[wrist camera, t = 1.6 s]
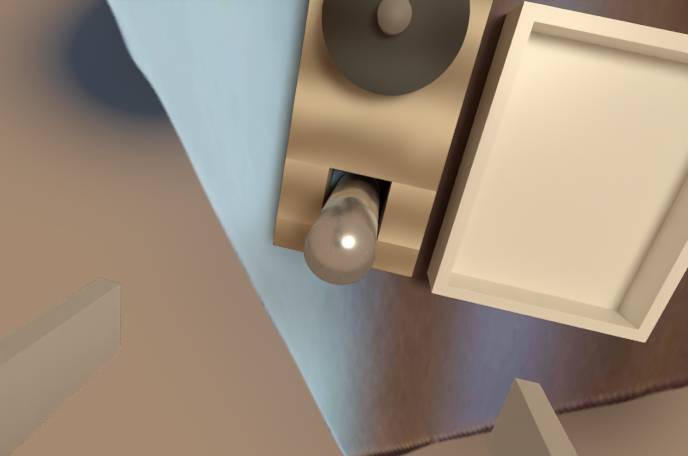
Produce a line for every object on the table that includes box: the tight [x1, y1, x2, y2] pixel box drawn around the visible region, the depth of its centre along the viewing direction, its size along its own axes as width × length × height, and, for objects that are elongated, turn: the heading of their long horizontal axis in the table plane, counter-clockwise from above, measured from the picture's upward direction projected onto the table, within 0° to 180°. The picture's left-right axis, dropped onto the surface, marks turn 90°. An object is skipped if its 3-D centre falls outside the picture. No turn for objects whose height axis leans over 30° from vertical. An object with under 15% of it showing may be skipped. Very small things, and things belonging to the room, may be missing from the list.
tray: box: [427, 1, 688, 343], centre depth 30 cm, size 22×18×4 cm
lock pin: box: [304, 172, 380, 285], centre depth 28 cm, size 4×4×14 cm
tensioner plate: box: [273, 0, 493, 277], centre depth 28 cm, size 24×12×8 cm, turn 169°
